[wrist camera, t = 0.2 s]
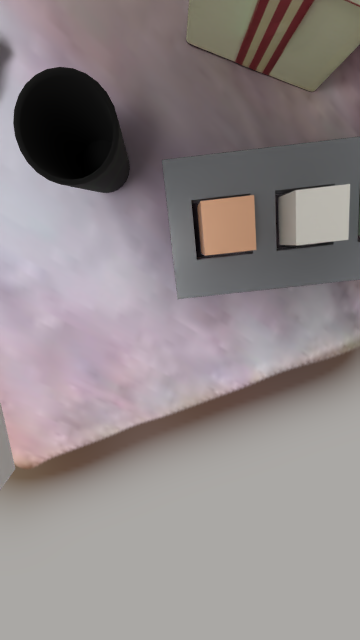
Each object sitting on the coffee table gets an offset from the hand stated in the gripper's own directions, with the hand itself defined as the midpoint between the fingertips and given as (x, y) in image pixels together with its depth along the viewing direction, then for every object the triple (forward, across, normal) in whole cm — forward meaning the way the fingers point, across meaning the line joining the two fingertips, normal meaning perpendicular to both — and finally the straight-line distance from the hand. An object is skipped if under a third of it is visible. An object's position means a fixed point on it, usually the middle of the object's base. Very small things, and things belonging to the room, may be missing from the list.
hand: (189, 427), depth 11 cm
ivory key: (+25, +13, +8) cm, 29 cm away
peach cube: (+25, +5, +7) cm, 26 cm away
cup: (+28, -8, +15) cm, 32 cm away
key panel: (+28, +13, +8) cm, 32 cm away
